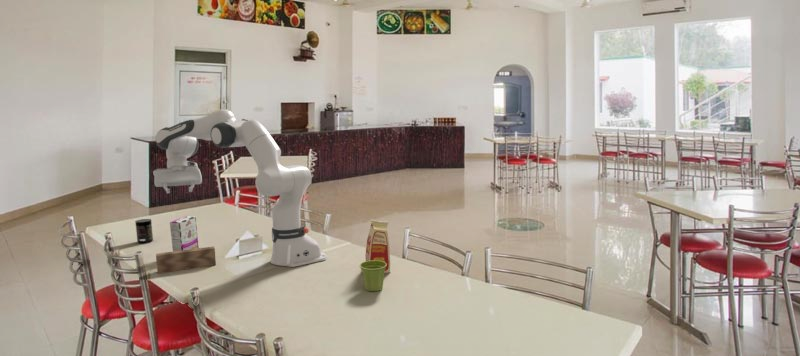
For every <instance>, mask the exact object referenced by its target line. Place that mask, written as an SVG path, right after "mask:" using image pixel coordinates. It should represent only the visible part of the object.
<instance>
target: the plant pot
mask: <svg viewBox="0 0 800 356" xmlns="http://www.w3.org/2000/svg"><path fill="white" fill-rule="evenodd" d="M358 266H359V268H360V271H361V272H362V273H361V274H362V279H363V286H364V288H365V289H364V290H365V291H368V292H373V291H375V292H379V291H381V290H383V287H384V280H385V279H384V278H385V273H384V271H385V267H386V266H387V264H386V263H385V262H383V261H378V260H372V261H366V260H365V261H362V262H361V263H359V265H358Z"/></svg>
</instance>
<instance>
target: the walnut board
mask: <svg viewBox="0 0 800 356" xmlns="http://www.w3.org/2000/svg"><path fill="white" fill-rule="evenodd" d="M215 250H216V248H215V246H207V247H199V248H197V249H189V250H181V251H173V250H172V251H166V252H160V253H155V259H156V261H155V262H156V271H157V274H162V273H163V274H164V273H169V272H177V271H185V270H190V269H198V268H205V267H213V266H217V263H216V251H215Z"/></svg>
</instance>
